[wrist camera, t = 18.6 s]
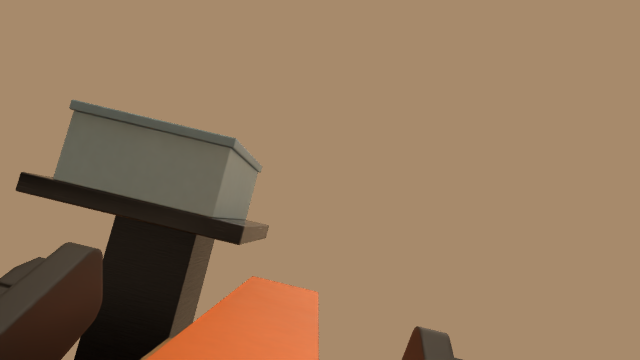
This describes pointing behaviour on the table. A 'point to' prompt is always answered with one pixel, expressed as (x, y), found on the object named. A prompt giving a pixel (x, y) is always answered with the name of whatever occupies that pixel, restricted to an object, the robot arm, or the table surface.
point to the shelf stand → (144, 267)
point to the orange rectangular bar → (252, 326)
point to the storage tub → (157, 162)
